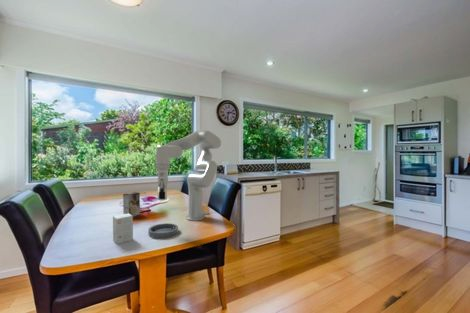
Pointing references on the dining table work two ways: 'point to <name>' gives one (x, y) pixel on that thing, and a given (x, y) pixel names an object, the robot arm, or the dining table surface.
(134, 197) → the coffee box
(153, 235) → the round bowl
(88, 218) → the dining table surface
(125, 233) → the small box
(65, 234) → the dining table surface
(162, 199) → the white egg
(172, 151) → the robot arm
